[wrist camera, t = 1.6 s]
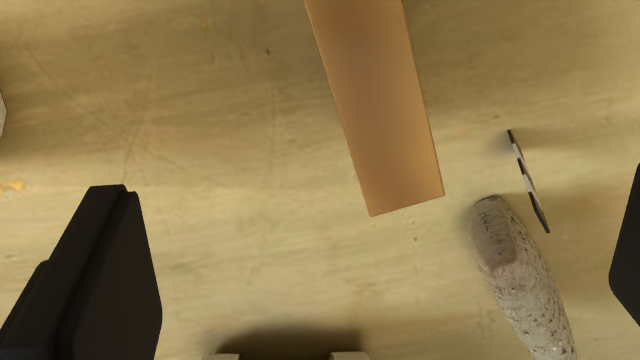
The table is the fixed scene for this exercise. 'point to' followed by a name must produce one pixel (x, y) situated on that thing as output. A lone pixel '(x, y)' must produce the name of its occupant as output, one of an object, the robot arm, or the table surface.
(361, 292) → the table surface
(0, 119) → the foam cup
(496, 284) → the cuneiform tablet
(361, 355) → the toy tank
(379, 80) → the frame
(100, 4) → the table surface
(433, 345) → the table surface
